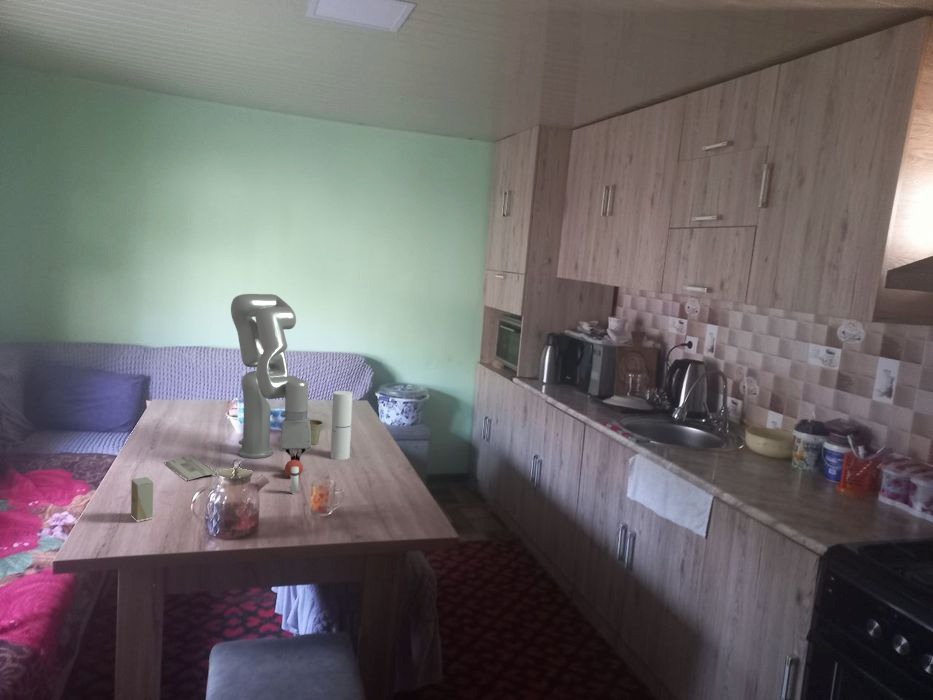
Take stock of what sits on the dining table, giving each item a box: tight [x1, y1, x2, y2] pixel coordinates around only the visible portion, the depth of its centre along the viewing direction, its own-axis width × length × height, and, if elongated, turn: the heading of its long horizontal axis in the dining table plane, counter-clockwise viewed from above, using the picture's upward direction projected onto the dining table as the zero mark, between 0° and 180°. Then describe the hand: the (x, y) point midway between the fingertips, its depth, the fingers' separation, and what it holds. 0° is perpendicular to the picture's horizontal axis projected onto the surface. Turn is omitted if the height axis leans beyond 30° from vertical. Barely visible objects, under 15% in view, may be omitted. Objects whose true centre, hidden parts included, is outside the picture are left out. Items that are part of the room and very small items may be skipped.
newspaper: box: [163, 455, 218, 482], centre depth 225 cm, size 23×12×2 cm, turn 42°
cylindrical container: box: [330, 390, 354, 461], centre depth 248 cm, size 7×7×25 cm
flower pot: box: [309, 419, 324, 446], centre depth 264 cm, size 9×9×9 cm
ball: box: [284, 459, 304, 478], centre depth 224 cm, size 6×6×6 cm
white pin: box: [289, 466, 300, 494], centre depth 209 cm, size 2×2×8 cm
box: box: [130, 476, 154, 520], centre depth 182 cm, size 5×4×11 cm
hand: (295, 466), depth 228 cm, fingers closed
